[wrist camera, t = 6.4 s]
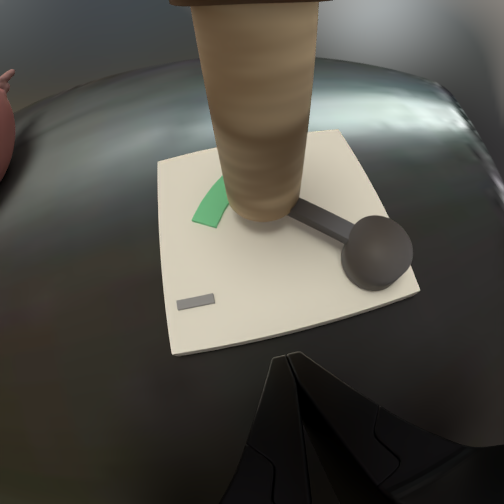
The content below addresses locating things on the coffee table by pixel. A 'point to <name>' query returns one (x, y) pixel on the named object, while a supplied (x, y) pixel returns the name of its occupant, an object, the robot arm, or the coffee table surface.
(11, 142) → the balloon
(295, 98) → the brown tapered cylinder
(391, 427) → the robot arm
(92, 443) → the coffee table surface
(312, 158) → the dial board
